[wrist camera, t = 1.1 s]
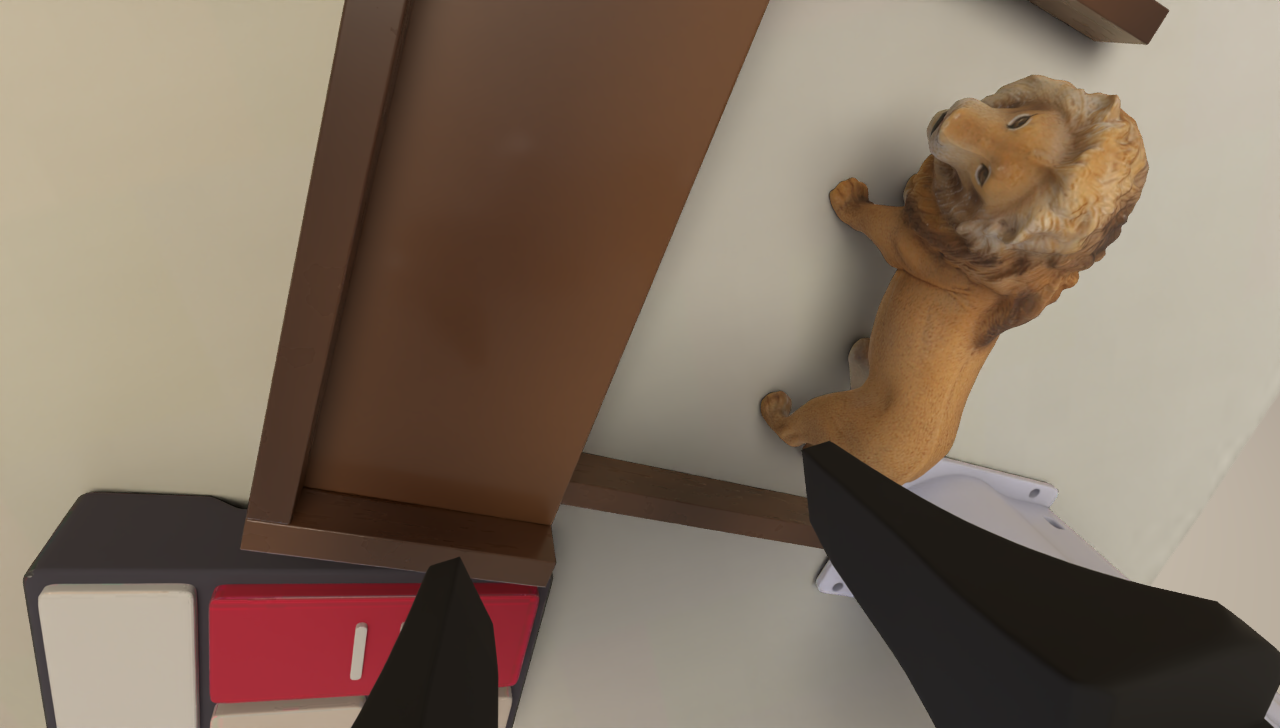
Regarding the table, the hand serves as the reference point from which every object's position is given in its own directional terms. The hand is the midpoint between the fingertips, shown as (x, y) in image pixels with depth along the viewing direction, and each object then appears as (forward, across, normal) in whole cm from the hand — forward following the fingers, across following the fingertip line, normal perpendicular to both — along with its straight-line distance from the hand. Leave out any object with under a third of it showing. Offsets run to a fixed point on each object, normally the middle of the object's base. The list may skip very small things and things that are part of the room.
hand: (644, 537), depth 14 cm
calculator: (+10, +12, +9) cm, 18 cm away
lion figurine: (+10, -9, +1) cm, 14 cm away
